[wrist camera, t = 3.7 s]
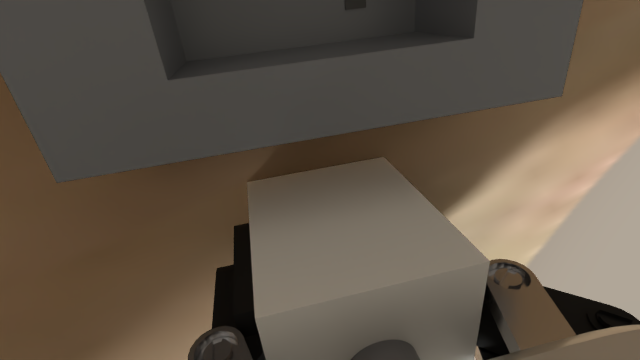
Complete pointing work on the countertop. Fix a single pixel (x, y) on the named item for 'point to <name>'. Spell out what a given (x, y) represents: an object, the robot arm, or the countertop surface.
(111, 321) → the countertop surface
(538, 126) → the countertop surface
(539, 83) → the socket plate
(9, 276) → the countertop surface
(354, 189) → the plug
